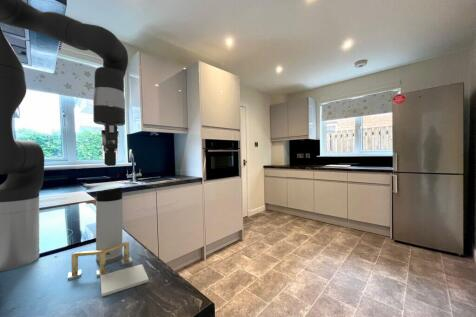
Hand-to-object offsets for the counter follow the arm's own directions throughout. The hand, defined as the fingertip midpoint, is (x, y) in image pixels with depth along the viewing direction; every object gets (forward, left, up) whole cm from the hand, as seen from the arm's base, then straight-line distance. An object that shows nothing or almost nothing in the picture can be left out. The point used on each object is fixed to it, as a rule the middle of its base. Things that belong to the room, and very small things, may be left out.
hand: (109, 165), depth 57 cm
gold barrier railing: (-2, -6, -26) cm, 27 cm away
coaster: (+2, -13, -26) cm, 30 cm away
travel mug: (0, 0, -26) cm, 26 cm away
